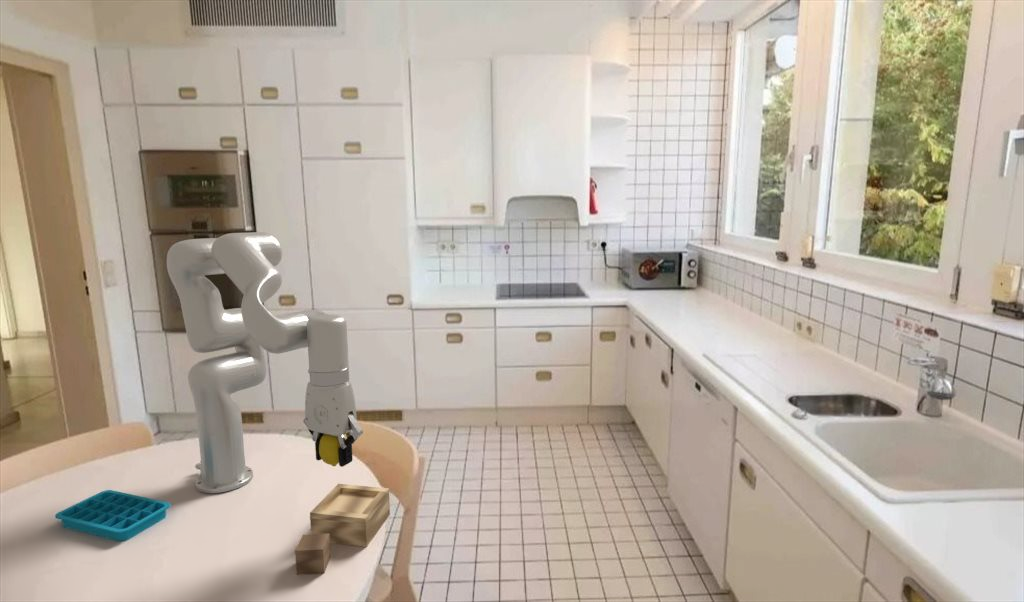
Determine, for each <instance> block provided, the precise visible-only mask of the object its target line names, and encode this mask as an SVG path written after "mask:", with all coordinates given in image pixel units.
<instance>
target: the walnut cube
mask: <svg viewBox="0 0 1024 602" xmlns="http://www.w3.org/2000/svg"><path fill="white" fill-rule="evenodd" d="M294 552H295V553H294V554H295V568H296V572H295V573H296V575H297V576H299V575H317V574H325V573H326V569H327V567H328V565H329V561H330V559H331V557H332V556H331V543H330V534H329V533H328V534H311V533H310V534H302V536H301V538H300V540H299V542H298V544H297V546H296V548H295V549H294Z"/></svg>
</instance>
